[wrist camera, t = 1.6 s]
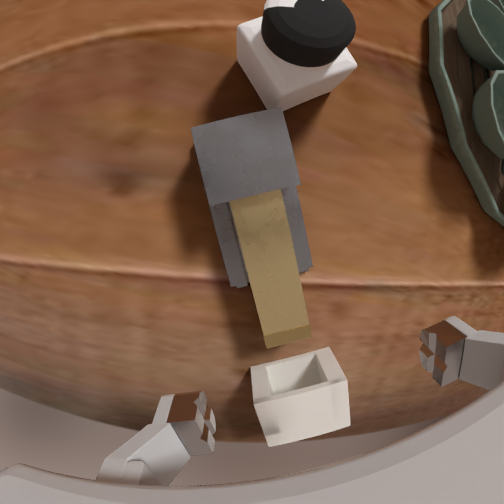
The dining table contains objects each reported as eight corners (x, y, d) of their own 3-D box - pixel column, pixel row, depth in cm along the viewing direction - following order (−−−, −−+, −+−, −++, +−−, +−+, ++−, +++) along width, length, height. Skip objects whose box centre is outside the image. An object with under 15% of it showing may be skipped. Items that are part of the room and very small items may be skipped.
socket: (264, 409, 33) (268, 446, 26) (250, 366, 31) (253, 404, 25) (334, 390, 33) (350, 425, 26) (329, 346, 31) (347, 379, 25)
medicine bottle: (333, 90, 25) (387, 42, 14) (270, 117, 26) (293, 71, 14) (298, 35, 24) (328, -33, 12) (235, 59, 24) (235, -11, 13)
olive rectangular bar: (262, 328, 29) (266, 349, 25) (221, 166, 25) (218, 162, 21) (302, 318, 29) (312, 337, 25) (266, 155, 25) (272, 150, 21)
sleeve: (231, 283, 29) (229, 308, 23) (194, 142, 26) (182, 130, 20) (310, 263, 29) (328, 283, 23) (278, 122, 26) (289, 105, 20)
